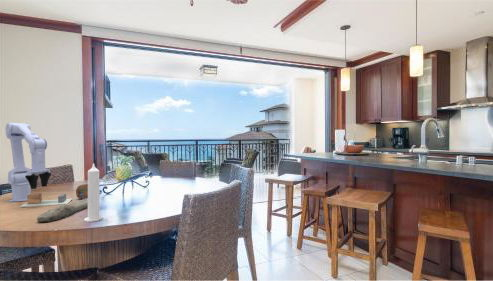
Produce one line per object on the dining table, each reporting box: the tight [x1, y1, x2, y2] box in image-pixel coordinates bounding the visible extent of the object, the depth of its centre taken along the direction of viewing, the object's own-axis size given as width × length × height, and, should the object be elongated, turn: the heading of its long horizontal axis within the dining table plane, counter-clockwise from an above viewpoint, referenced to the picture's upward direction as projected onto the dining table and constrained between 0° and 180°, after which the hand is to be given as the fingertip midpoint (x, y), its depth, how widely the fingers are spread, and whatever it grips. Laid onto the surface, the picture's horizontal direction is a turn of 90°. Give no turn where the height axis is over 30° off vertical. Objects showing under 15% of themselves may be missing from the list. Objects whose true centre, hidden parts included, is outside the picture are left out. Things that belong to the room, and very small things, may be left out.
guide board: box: [18, 193, 74, 208], centre depth 148 cm, size 12×21×4 cm, turn 110°
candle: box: [83, 162, 104, 223], centre depth 120 cm, size 7×7×25 cm
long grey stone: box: [36, 199, 88, 223], centre depth 131 cm, size 35×5×10 cm
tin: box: [75, 182, 88, 200], centre depth 163 cm, size 15×3×8 cm, turn 168°
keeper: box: [26, 192, 43, 204], centre depth 146 cm, size 4×5×4 cm
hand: (39, 187), depth 143 cm, fingers open, 7 cm apart
